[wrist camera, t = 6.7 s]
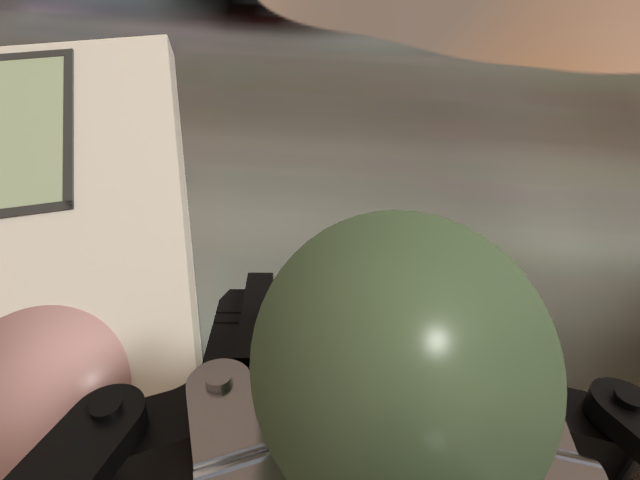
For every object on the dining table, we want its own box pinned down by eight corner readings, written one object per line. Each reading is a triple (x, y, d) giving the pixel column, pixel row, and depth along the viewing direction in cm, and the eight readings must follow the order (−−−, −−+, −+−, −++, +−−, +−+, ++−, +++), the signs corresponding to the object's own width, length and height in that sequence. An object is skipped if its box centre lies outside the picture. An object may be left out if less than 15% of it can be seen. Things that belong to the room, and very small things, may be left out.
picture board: (174, 55, 22) (166, 32, 21) (215, 497, 16) (207, 510, 14) (-107, 78, 20) (-139, 54, 19) (-191, 591, 14) (-250, 618, 12)
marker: (366, 307, 18) (506, 192, 6) (389, 412, 16) (617, 501, 5) (267, 324, 17) (230, 233, 6) (283, 435, 16) (276, 595, 5)
